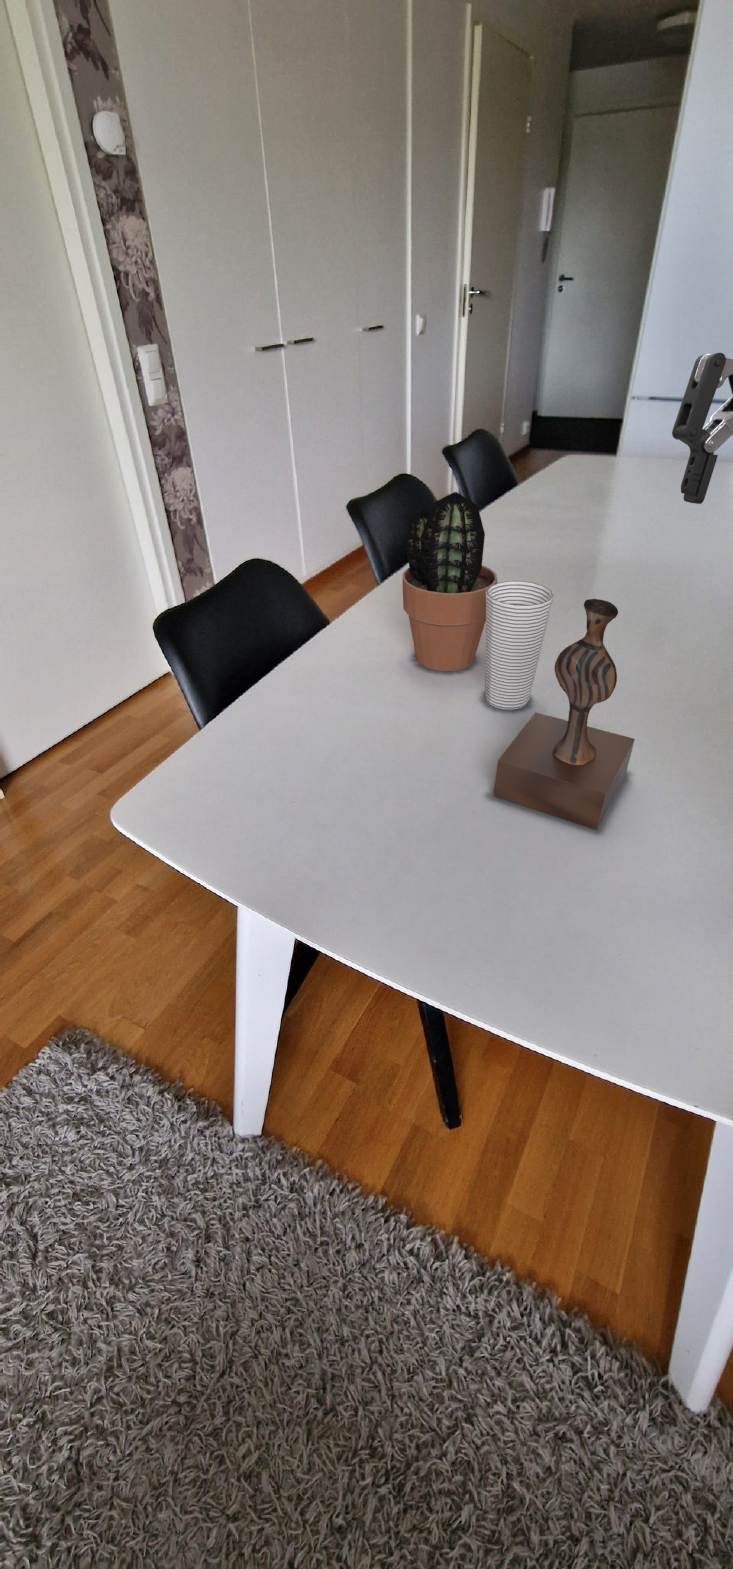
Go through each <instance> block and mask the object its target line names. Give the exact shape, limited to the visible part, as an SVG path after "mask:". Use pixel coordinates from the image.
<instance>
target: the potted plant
mask: <svg viewBox="0 0 733 1569" xmlns="http://www.w3.org/2000/svg"><path fill="white" fill-rule="evenodd" d="M406 532H407V533H406V538H405V540H406V541H405V551H406V556H407V562H408V566H409V567H408V568H407V569H405V570H404V571H403V572H402V577H401V578H402V580H401V581H402V604H403V605H402V608H403V611H404V612H405V613H406V615H407V616H408V621H409V625H410V626H409V627H410V631H411V636H412V637H411V638H412V642H413V648H414V652H415V659H416V660H417V663H418V664H420V665H421V666H422V667H424V668H426V669H428V670H431V671H437V672H457V671H461V670H463V669H466V668H468V667H469V666H471V665H472V664H473V662H474V661H475V657H476V654H477V651H478V649H479V648H478V647H479V645H480V641H481V638H482V635H483V631H484V628H485V626H486V590H487V589H488V588H489V587H490V586H491V585H494V584H496V583H498V574H497V573H496V572H495V571H493V569H492V568H490V567H489V566H485V565H483V557H484V547H485V539H486V533H485V529H484V525H483V521H482V516H481V514H480V509H479V507H478V504H476V503H475V502H473V501H472V500H470V499H468V498H467V497H466V496H464V495H462V494H460V493H459V492H458V491H454V492H452V493H450V494H448V495H446V496H444V497H443V498H440V499H438V500H436V501H435V502H434V504H433V505H431V508H430V510H429V511H426V510H424V509H422V510H421V511H420V512H419V513H417V514H416V515H415V516H414V517H413V518H411V519H410V520H409V523H408V527H407V531H406Z"/></svg>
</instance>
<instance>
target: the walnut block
mask: <svg viewBox="0 0 733 1569" xmlns="http://www.w3.org/2000/svg"><path fill="white" fill-rule="evenodd" d="M567 726H568V720H566V719H562V718H558V717H555V716H551V715H548V714H543V713H539V712H534V713H533V715H531V717H530V719H529V720H528V721H527V723H526V724H525V725H524V726H523V728H522V729H521V730H520V731H519V733H518V734H517V735H516V737H515V738H514V739H513V740H512V741H511V743H510V744H509V746H508V747H507V748H506V749H505V751H504V752H503V753H502V754H501V756H500V757H499V759H498V760H497V762H496V770H495V771H496V772H495V779H494V780H495V781H494V787H493V788H494V789H493V797H494V798H497V799H501V800H504V801H507V802H509V803H513V804H516V805H519V806H522V807H525V808H527V809H531V810H534V811H536V812H540V813H543V814H547V815H550V816H552V817H555V818H558V819H561V820H565V821H567V822H571V823H574V824H577V825H579V826H583V827H586V828H588V829H592V830H595V831H597V830H598V829H599V827H600V825H601V823H602V822H603V819H604V817H605V815H606V813H607V811H608V809H609V808H610V806H611V804H612V801H613V799H614V798H615V796H616V794H617V792H618V791H619V788H620V787H621V784H622V782H623V780H624V778H625V776H626V774H627V771H628V767H629V763H630V759H631V756H632V752H633V748H634V744H635V738H633V737H630V736H626V735H623V734H622V735H621V734H618V733H615V732H610V731H606V730H603V729H599V728H595V727H593V726H588V725H587V736H588V740H589V742H590V744H592V745H593V746H594V747H595V749H596V757H595V758H594V759H593V760H591V761H589V762H587V763H586V764H584V765H573V764H569V763H566V762H563V761H561V760H559V759H558V758H557V757H555V756H554V754H553V749H554V747H555V746H556V745H557V743H558V742H559V741H560V740H561V739H562V738H563V737H564V735H565V733H566V730H567Z"/></svg>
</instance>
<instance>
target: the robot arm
mask: <svg viewBox="0 0 733 1569" xmlns="http://www.w3.org/2000/svg"><path fill="white" fill-rule="evenodd" d="M727 379H728V383H729V388H730V390H731V394H732V395H731V397H729V398H728V399H727V400H726V401H725V402H724V403H723V404H722V405H721V406H720V407H719V408H718V409H717V410H716V411H715V412H714V413H713V414H712V415H711V417H710V419H709V421H708V422H706V420H707V418H708V415H709V411H710V408H711V406H712V403H713V400H714V396H715V395H716V392H717V389H720V388H722V386H723V385H724V383H725V382H726V380H727ZM685 388H686V389H685V391H684V394H683V396H682V397H683V398H682V400H681V403H680V407H679V409H678V412H677V415H676V418H675V420H674V425H673V427H672V429H671V430H672V431H671V434H672V438H673V439H674V440H676V441H677V440H678V441H680V442H682V443H683V444H684V445H686V446H688V449H689V456H688V460H687V464H686V467H685V470H684V473H683V476H682V477H683V478H682V481H681V484H680V493H681V494H683V501H684V502H686V503H689V504H695V505H697V504H698V505H701V504H703V503H704V500H705V499H706V495H707V491H708V489H709V486H710V482H711V479H712V476H713V473H714V469H715V466H716V463H717V461H718V458H719V455H718V454H715V452H716V451H718V450H719V448H721V447H722V446H723V444H724V443H726V441H728V440H729V439H730V438H731V437H732V436H733V359H732V358H728V357H726V355H725V353H723V352H714V353H705V354H701V355H699V356H698V357H697V358H696V359H695V361H694V365H693V367H692V370H691V373H690V376H689V379H688V382H687V385H686V387H685ZM705 423H706V424H705Z"/></svg>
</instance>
